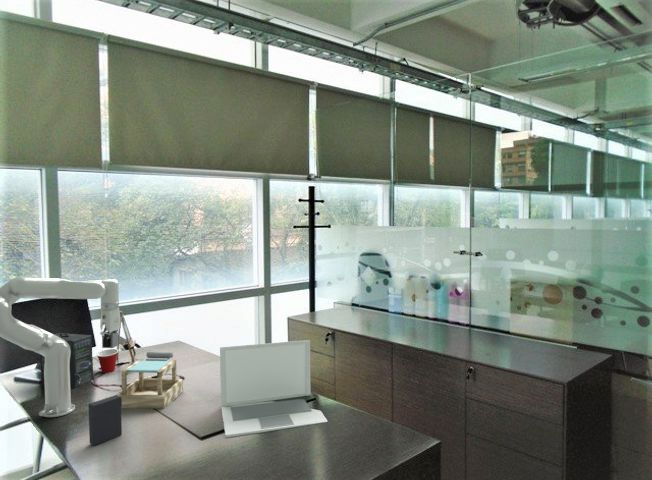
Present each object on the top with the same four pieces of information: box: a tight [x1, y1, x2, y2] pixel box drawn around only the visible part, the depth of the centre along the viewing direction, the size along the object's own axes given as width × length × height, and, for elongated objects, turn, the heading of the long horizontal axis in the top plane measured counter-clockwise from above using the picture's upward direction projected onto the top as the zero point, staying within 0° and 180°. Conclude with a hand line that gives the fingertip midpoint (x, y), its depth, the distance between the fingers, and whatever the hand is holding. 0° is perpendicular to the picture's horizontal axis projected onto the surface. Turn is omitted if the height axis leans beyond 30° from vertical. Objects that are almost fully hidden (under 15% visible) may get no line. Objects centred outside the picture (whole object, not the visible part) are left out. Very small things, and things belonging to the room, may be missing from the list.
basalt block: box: [101, 331, 119, 349], centre depth 215 cm, size 5×5×6 cm
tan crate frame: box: [115, 358, 184, 409], centre depth 213 cm, size 22×22×16 cm
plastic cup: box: [95, 348, 119, 374], centre depth 249 cm, size 11×11×12 cm
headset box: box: [39, 332, 94, 389], centre depth 235 cm, size 22×12×26 cm, turn 71°
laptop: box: [219, 339, 328, 438], centre depth 194 cm, size 40×29×28 cm
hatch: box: [127, 351, 174, 374], centre depth 215 cm, size 19×14×4 cm
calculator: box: [87, 394, 123, 446], centre depth 175 cm, size 11×4×15 cm, turn 143°
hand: (110, 345), depth 215 cm, fingers closed on basalt block, 5 cm apart
